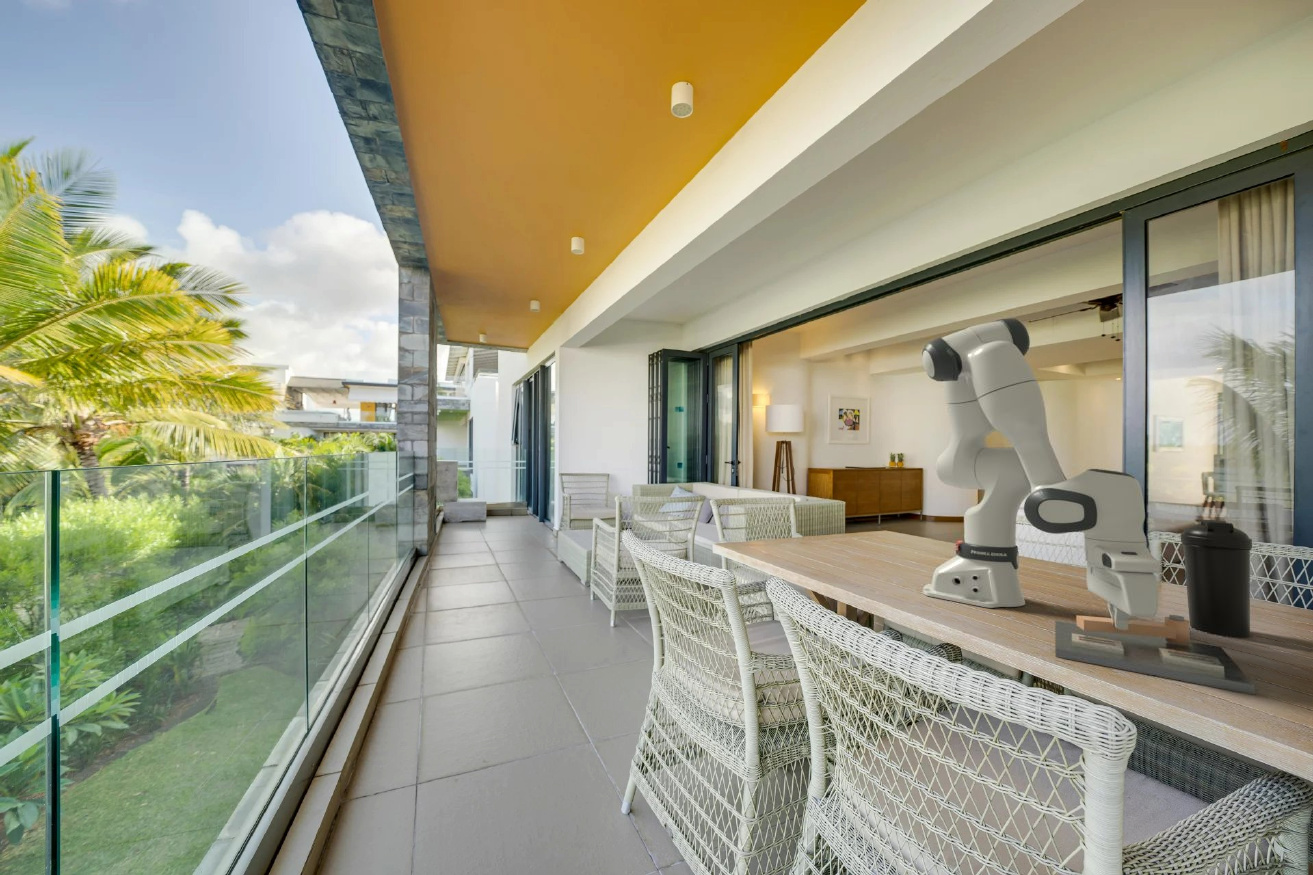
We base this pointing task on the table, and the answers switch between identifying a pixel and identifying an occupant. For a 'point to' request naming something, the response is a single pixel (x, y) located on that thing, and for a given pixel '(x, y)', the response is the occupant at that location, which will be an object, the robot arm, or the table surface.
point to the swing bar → (1142, 628)
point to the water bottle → (1218, 578)
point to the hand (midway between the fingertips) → (1120, 628)
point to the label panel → (1152, 657)
